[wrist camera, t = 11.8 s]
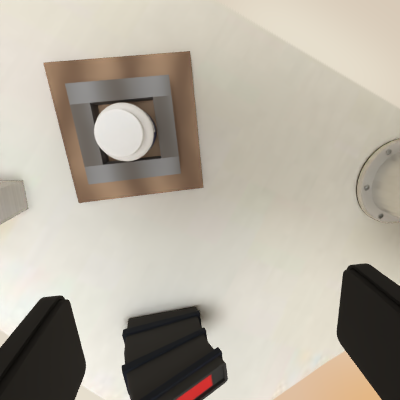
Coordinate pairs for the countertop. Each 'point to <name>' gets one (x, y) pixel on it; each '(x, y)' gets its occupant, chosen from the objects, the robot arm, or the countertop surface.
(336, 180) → the countertop surface
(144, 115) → the pill bottle
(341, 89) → the countertop surface
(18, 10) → the countertop surface
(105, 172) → the mount
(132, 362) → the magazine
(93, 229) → the countertop surface
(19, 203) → the grey upright pouch
